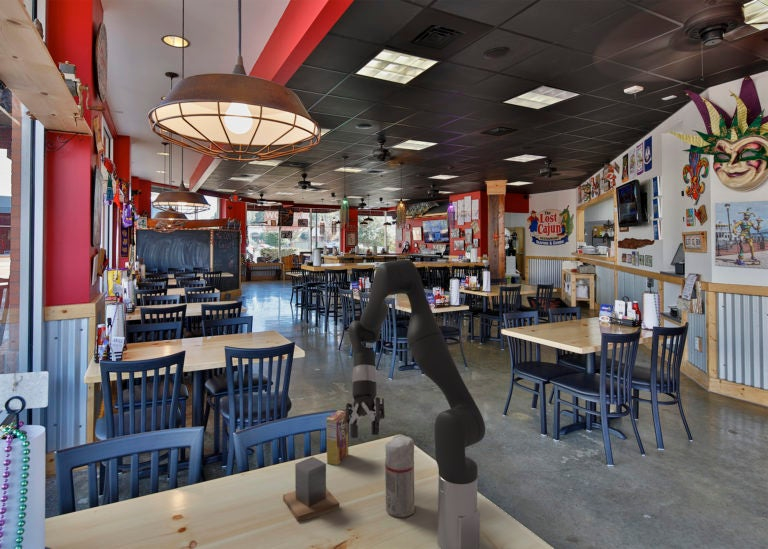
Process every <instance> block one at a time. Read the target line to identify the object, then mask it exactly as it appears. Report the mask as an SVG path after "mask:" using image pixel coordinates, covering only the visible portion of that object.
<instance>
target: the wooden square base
mask: <svg viewBox="0 0 768 549" xmlns="http://www.w3.org/2000/svg"><path fill="white" fill-rule="evenodd" d="M282 501H283V502H284V503H285V506H286V507H287V508H288V510H289V511H290V512H291V514H292V516H293V517H294V519H295V520H296V522H298V523H299V522H302V521H305V520H309V519H311V518H315V517H317V516H320V515H323V514H324V515H325V514H327V513H329V512H333V511H337V510H339V509H340V505H341V504H340V502H339V501H338V500H337V498H336V497H335V496H334V495H333V494H332V493H331V491H329V490H328V488H327V487H326V499H324V500H322V501H320V502H318V503H316V504H314V505H312V506H310V507H307V506H306V505H304V504H303V503H301V502H300V501H298V500H297V499H296V490H295V491H290V492H288V493H285V494H282Z"/></svg>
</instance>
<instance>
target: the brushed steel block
mask: <svg viewBox="0 0 768 549" xmlns="http://www.w3.org/2000/svg"><path fill="white" fill-rule="evenodd" d="M294 468H295V470H294V471H295V472H294V474H295V477H294V478H295V486H294V487H295V491H296V499H297V500H298V501H300V502H301V503H303V504H304V505H306V506H307V507H310V506H312V505H314V504H316V503H318V502H320V501H322V500H324V499H326V488H327V462H324V461H322V460H320V459H318V458H316V457H314V456H311V457H309V458H306V459H304V460H302V461H299V462H297V463H295V466H294Z"/></svg>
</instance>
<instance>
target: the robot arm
mask: <svg viewBox="0 0 768 549" xmlns="http://www.w3.org/2000/svg"><path fill="white" fill-rule="evenodd" d="M398 294H406V297H407V298H408V301H409V306H410V318H409V322H408V323H409V324H408V327H407V332H406V333H407V335H406V339H407V341H406V342H407V343H408V347H409V350H410V352H411V354H412V357H413V360H414V362H415V364H416V366H417V367H418V368H419V369H420V371H422V373H423V374H424V375H426V377H427V378H429V379H430V380H431V381H432V383H434V384H435V385H436V386H437V387H438V388H439V390H441V392H442V393H443V395H444V397H445V399H446V401H447V403H448V406H449V407H450V408H449V409H446V410H444V411H441V412H439V413H438V414H437V416H436V418H435V421H434V432H433V433H434V452H435V455H434V456H435V462H436V465H437V467H438V475H437V476H438V482H437V483H438V485H437V488H438V489H437V495H438V498H437V544H438V547H439V548H441V549H480V541H481V540H480V538H481V537H480V533H481V531H480V527H481V524H480V523H481V512H480V511H479V510H478V472H479V471H478V465H477V463H476V461H474V459H472V458H470V457H468V456H466V448H467V447H470V446H473V445H475V444H478V443H479V442H481V441H482V440H483V439H484V437H485V434H486V425H485V420H484V417H483V415H482V413H481V411H480V409H479V407H478V405H477V403H476V401H475V400H474V398H473V396H472V394H471V392H470V391H469V389H468V387H467V386H466V383H465V382H464V380H463V377H462V376H461V373H460V372H459V369H458V368H457V365H456V363H455V361H454V359H453V356H452V354H451V352H450V349H449V346H448V343H447V342H446V338H445V337H444V335H443V332H442V331H441V328H440V326H439V324H438V322H437V320H436V318H435V315H434V312H433V310H432V308H431V305H430V303H429V299H428V297H427V294H426V291H425V288H424V285H423V281H422V278H421V276H420V273H419V271H418V269H417V267H416V265H415V263H414V262H413V261H412V260H410V259H397V260H391V261H384V262H383V263H380V264H379V265H378V266H377V268H376V270H375V273H374V276H373V280H372V284H371V289H370V293H369V298H368V301H367V304H366V306H365V308H364V309H363V311H362V313H361V315H360V319H359V320H353V321H352V322H351V323H350V324H349V327H348V331H347V332H348V338H349V341H350V344H351V348H352V355H353V370H352V389H351V390H352V394H351V396H352V397H353V402H351V403H349V402H348V403H347V402H346V405H345V411H346V418H345V422H346V423H348V424H349V425H350V431H349V432H350V437H351V438H352V439H357V438H358V437H359V431H358V430H359V426H358V424H359V422H360V420H362V418H363V417H366V416H369V417H370V420H371V435H372V436H378V435H379V434H380V433H379V432H380V421H381V420H383V419H385V417H386V416H385V400H384V398H382V397H378V396H377V395H378V394H377V392H378V390H377V388H378V387H377V386H378V385H377V370H376V351H375V350H374V349H372V348H369V347H366V346H365V345H364V344H365V343H366V344H375V343H377V342H378V341H379V340H380V338H381V337H380V336H381V328H382V325H383V323H384V322H385V320H386V318H387V315H388V312H389V306H388V304H387V301H386V299H387V297H388V296H394V295H398Z"/></svg>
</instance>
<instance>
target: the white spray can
mask: <svg viewBox="0 0 768 549" xmlns="http://www.w3.org/2000/svg"><path fill="white" fill-rule="evenodd" d="M384 470H385V473H384V476H385V477H384V478H385V511H386V513H387V514H388V515H390V516H392V517H394V518H395V517H396V518H406V517H409V516H411V515H413V514H414V513H415V512H416V508H415V440H414V439H413V438H412V437H410V436H406V435H405V434H397V435H395V436H394V437H392V439H391V440H390V441H387V442H386V444H385V460H384Z"/></svg>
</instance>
